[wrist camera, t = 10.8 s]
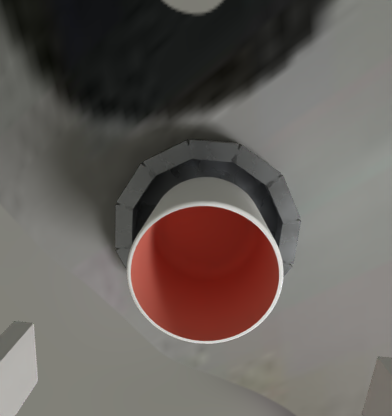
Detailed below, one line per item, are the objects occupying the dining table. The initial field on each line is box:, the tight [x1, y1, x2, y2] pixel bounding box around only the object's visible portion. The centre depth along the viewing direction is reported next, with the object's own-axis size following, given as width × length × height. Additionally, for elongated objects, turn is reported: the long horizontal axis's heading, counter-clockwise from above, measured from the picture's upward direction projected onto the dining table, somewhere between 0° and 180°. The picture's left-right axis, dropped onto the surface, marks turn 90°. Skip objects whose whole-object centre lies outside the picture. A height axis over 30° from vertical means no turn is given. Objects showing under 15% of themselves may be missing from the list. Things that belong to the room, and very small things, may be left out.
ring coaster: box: [115, 139, 301, 277], centre depth 29 cm, size 16×16×3 cm
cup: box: [127, 177, 283, 344], centre depth 25 cm, size 10×10×10 cm
